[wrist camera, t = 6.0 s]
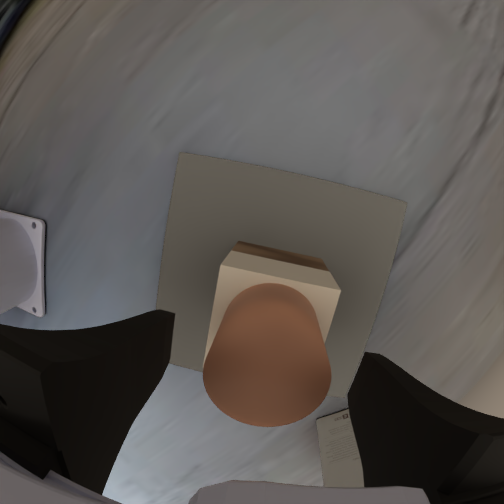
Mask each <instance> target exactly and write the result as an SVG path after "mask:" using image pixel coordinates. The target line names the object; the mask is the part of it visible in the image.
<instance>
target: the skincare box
mask: <svg viewBox="0 0 504 504" xmlns="http://www.w3.org/2000/svg"><path fill="white" fill-rule="evenodd" d="M316 424H317V432H318V440H319V448H320V457H321V465H322V476H323V484H324V487H347V488H360V487H364V479H363V469H362V463H361V458H360V454H359V450H358V447H357V443H356V439H355V435H354V431H353V427H352V423H351V419H350V415H349V409H347V410H344V411H341V412H338V413H335V414H332V415H329V416H326V417H322V418H319V419H317V420H316Z"/></svg>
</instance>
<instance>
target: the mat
mask: <svg viewBox="0 0 504 504" xmlns="http://www.w3.org/2000/svg"><path fill="white" fill-rule="evenodd" d="M406 207H407V203H406V202H403V201H400V200H396V199H393V198H390V197H386V196H383V195H379V194H376V193H372V192H368V191H365V190H361V189H357V188H353V187H350V186H346V185H342V184H338V183H334V182H330V181H326V180H322V179H318V178H313V177H309V176H305V175H300V174H296V173H291V172H287V171H282V170H277V169H273V168H268V167H263V166H258V165H253V164H248V163H242V162H237V161H231V160H226V159H220V158H214V157H208V156H202V155H196V154H189V153H182V152H180V153H179V158H178V163H177V168H176V173H175V178H174V184H173V189H172V195H171V201H170V207H169V213H168V219H167V225H166V232H165V239H164V246H163V253H162V260H161V268H160V276H159V285H158V294H157V303H156V310H158V309H161V310H165V311H169V312H173V313H175V321H174V330H173V339H172V348H171V358H170V361H169V363H171V364H174V365H178V366H181V367H185V368H189V369H192V370H196V371H200V372H203V363H204V357H205V351H206V345H207V339H208V333H209V327H210V321H211V315H212V309H213V304H214V298H215V292H216V287H217V281H218V276H219V270H220V265H221V263H222V262H223V261H224V259H225V258H226V257H227V255H228V254H229V253H230V251H231V250H232V248H233V247H234V246H235V245H236V243H237V242H238V241H242V242H247V243H252V244H256V245H261V246H266V247H270V248H275V249H279V250H284V251H289V252H293V253H298V254H302V255H307V256H312V257H316V258H321V259H322V260H323V262H324V263H325V265H326V267H327V268H328V270H329V272H330V273H331V275H332V276H333V278H334V280H335V281H336V283H337V284H338V286H339V288H340V289H341V292H340V296H339V299H338V303H337V306H336V309H335V313H334V316H333V319H332V322H331V325H330V329H329V332H328V335H327V338H326V341H325V348H326V352H327V355H328V359H329V363H330V366H331V374H332V375H331V384H330V388H329V391H328V393H327V395H326V396H332V397H340V398H345V395H346V393H347V391H348V388H349V386H350V384H351V381H352V379H353V377H354V374H355V372H356V369H357V367H358V364H359V362H360V359H361V357H362V354H363V351H364V349H365V346H366V343H367V341H368V338H369V335H370V333H371V330H372V327H373V324H374V321H375V318H376V315H377V312H378V309H379V306H380V303H381V300H382V297H383V294H384V291H385V287H386V284H387V281H388V278H389V274H390V271H391V267H392V264H393V260H394V256H395V253H396V249H397V245H398V241H399V237H400V233H401V229H402V225H403V221H404V216H405V212H406Z"/></svg>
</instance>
